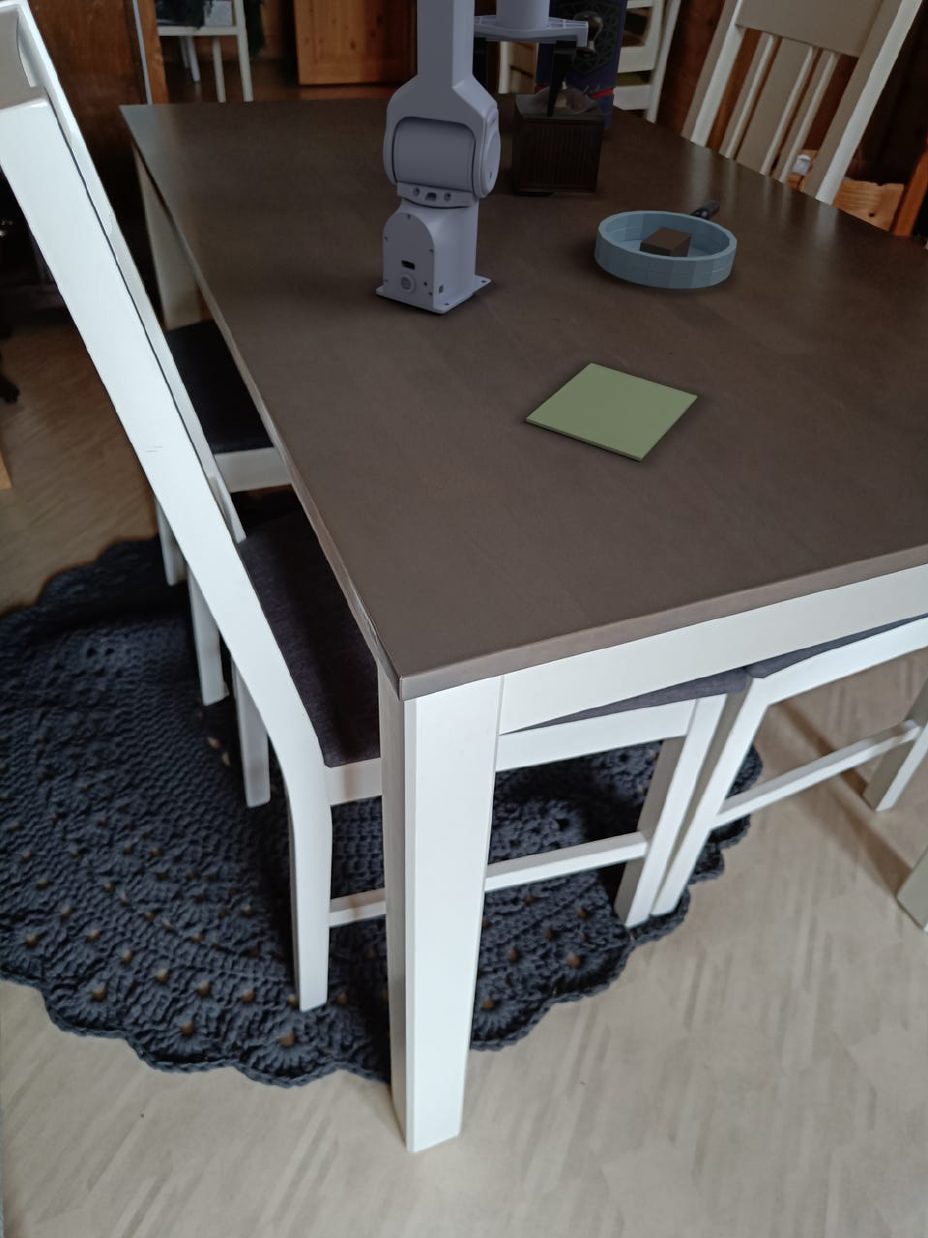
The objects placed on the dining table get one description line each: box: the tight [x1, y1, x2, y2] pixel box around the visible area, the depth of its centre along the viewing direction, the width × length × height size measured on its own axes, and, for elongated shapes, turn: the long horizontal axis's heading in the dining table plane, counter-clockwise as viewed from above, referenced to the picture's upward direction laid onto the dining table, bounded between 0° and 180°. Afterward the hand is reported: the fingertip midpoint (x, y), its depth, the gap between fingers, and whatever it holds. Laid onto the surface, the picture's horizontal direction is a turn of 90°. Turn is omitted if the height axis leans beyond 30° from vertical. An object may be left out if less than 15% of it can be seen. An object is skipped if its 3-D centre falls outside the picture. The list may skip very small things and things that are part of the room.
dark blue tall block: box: [533, 0, 629, 132], centre depth 128 cm, size 14×12×30 cm
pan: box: [593, 210, 738, 290], centre depth 97 cm, size 15×15×4 cm
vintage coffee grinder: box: [509, 11, 605, 197], centre depth 114 cm, size 16×11×18 cm
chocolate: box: [639, 227, 692, 257], centre depth 97 cm, size 6×4×2 cm, turn 148°
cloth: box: [525, 362, 698, 462], centre depth 74 cm, size 12×10×1 cm
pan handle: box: [689, 199, 721, 221], centre depth 104 cm, size 8×2×2 cm, turn 148°
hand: (517, 112), depth 106 cm, fingers open, 7 cm apart
